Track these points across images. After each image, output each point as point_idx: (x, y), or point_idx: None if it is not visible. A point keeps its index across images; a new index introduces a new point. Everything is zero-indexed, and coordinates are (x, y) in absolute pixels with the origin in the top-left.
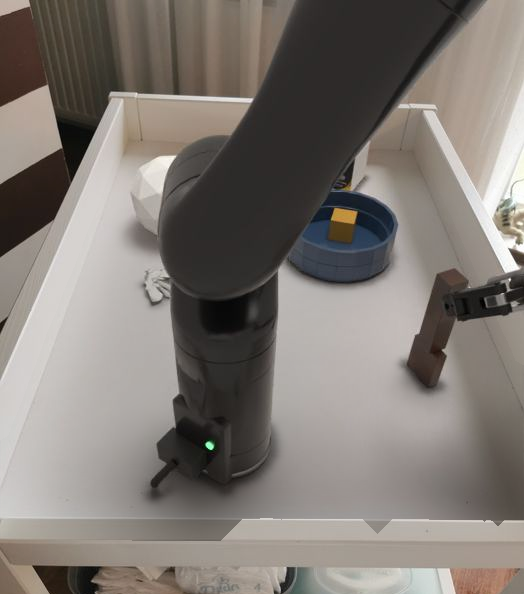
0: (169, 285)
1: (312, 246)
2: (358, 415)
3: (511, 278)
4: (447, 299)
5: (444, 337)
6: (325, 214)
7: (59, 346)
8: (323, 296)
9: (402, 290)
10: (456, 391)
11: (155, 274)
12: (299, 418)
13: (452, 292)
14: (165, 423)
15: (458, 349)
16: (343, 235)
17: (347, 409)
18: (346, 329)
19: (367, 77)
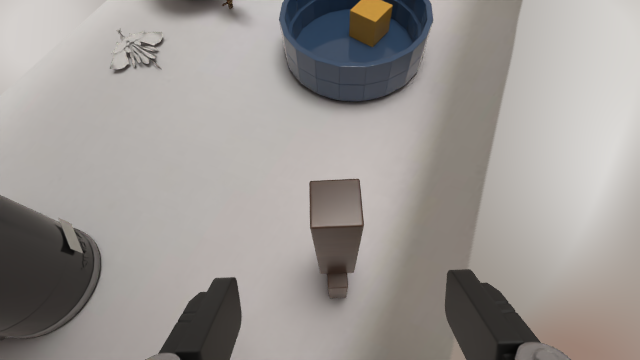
0: (139, 53)
1: (289, 43)
2: None
3: (448, 277)
4: (182, 315)
5: (342, 266)
6: None
7: (3, 96)
8: (293, 111)
9: (396, 131)
10: (366, 320)
11: (135, 37)
12: (144, 278)
13: (218, 293)
14: None
15: (414, 249)
16: (364, 34)
17: (207, 289)
18: (288, 167)
19: None
